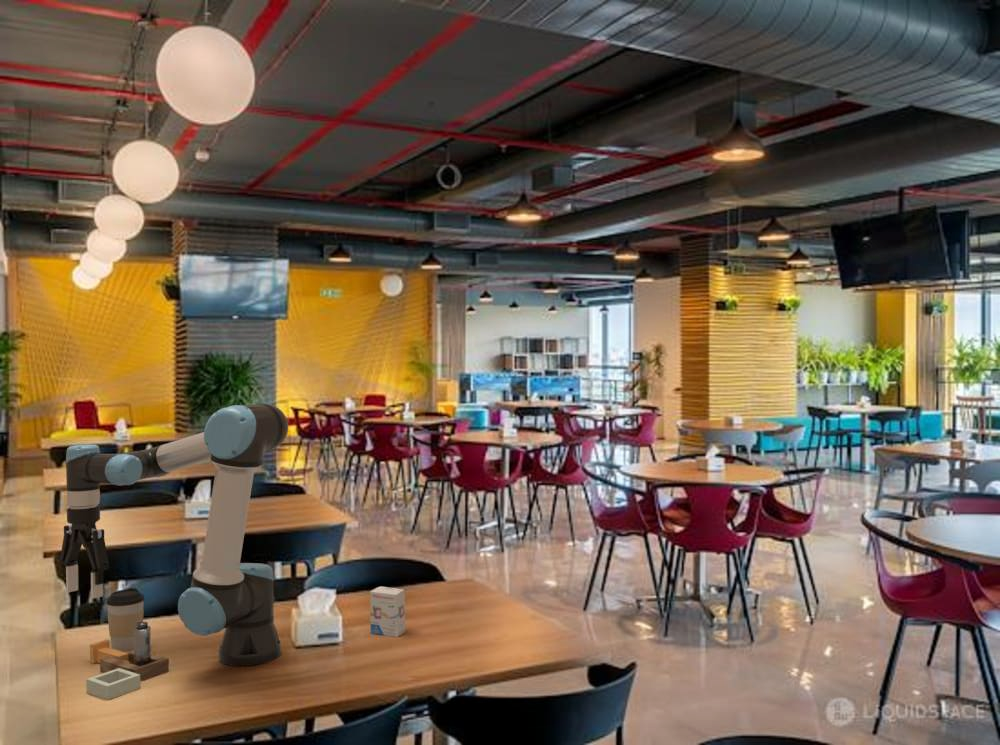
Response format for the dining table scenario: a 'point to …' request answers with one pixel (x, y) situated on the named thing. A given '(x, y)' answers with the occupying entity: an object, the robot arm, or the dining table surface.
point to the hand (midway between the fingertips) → (84, 594)
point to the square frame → (113, 683)
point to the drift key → (105, 652)
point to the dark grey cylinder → (142, 644)
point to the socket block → (145, 671)
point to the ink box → (387, 611)
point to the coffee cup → (124, 617)
